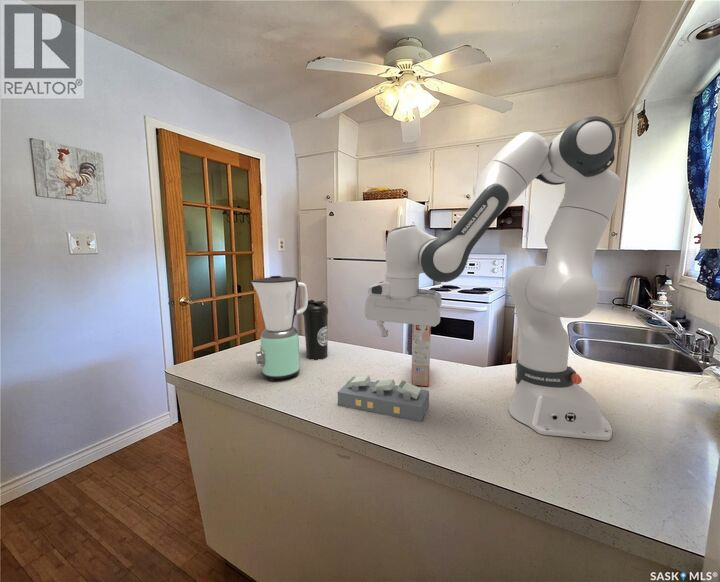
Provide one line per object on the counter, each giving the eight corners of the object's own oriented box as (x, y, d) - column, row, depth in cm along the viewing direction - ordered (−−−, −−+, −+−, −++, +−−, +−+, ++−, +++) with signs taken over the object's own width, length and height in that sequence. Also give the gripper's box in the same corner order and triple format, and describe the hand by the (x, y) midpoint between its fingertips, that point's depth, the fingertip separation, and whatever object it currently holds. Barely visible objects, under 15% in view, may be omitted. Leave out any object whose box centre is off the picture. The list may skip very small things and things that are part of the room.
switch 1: (370, 379, 96) (369, 374, 96) (365, 385, 92) (364, 380, 92) (353, 381, 98) (352, 376, 98) (348, 387, 95) (346, 382, 95)
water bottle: (318, 362, 127) (316, 304, 123) (299, 357, 132) (296, 301, 129) (334, 354, 135) (333, 299, 131) (315, 350, 140) (313, 297, 137)
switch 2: (395, 383, 93) (393, 378, 93) (390, 389, 90) (389, 384, 90) (377, 385, 96) (375, 380, 95) (372, 391, 92) (371, 386, 92)
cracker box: (430, 387, 104) (431, 323, 101) (410, 386, 105) (411, 322, 102) (429, 370, 117) (430, 313, 114) (412, 369, 118) (413, 312, 115)
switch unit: (428, 403, 93) (429, 384, 92) (421, 422, 84) (421, 401, 83) (352, 390, 103) (351, 372, 102) (337, 405, 93) (336, 386, 92)
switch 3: (419, 392, 91) (421, 387, 90) (416, 399, 87) (418, 394, 87) (401, 384, 93) (402, 380, 92) (396, 390, 89) (398, 385, 89)
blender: (260, 386, 106) (253, 279, 101) (254, 372, 118) (247, 276, 113) (316, 375, 115) (312, 276, 109) (304, 362, 126) (300, 272, 121)
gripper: (443, 288, 85) (441, 339, 87) (371, 284, 93) (370, 331, 95) (439, 292, 79) (437, 346, 82) (362, 287, 88) (362, 337, 90)
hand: (401, 338), depth 89 cm, fingers open, 8 cm apart
